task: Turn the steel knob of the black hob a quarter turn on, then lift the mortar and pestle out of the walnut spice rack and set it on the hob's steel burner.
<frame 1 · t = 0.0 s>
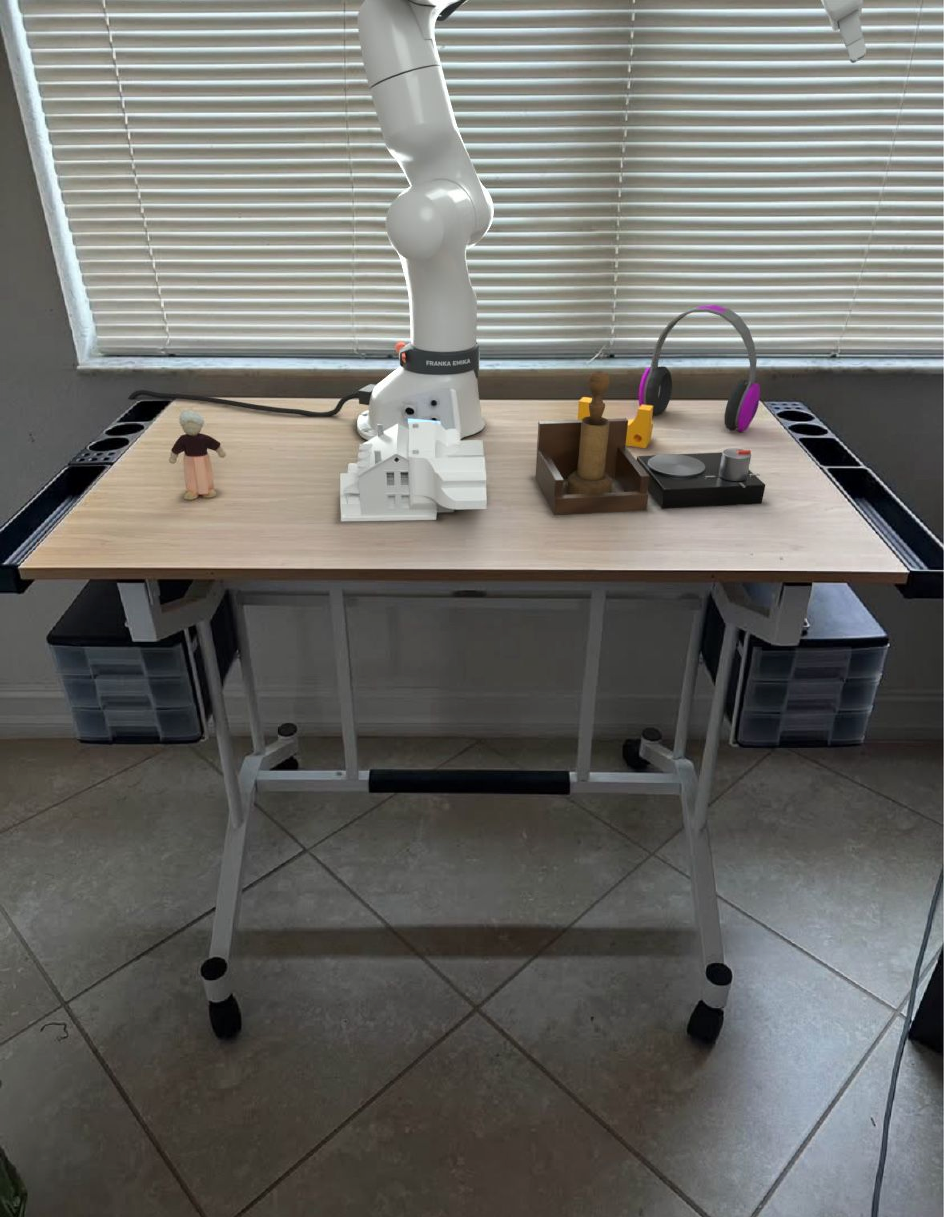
hand: (858, 59, 104), 54 cm above the table, tool tilted 30°, fingers open, 8 cm apart
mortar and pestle: (588, 494, 125), resting in spice rack
headphones: (693, 423, 152), on the table
house model: (414, 508, 120), on the table
burner: (676, 466, 126), resting on hob
spice rack: (588, 493, 125), on the table
hob knob: (735, 463, 122), point 5 cm above the table, hinge at 0.0°
grandmother figurine: (204, 496, 123), on the table
hob: (696, 488, 126), on the table
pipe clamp: (613, 440, 144), on the table
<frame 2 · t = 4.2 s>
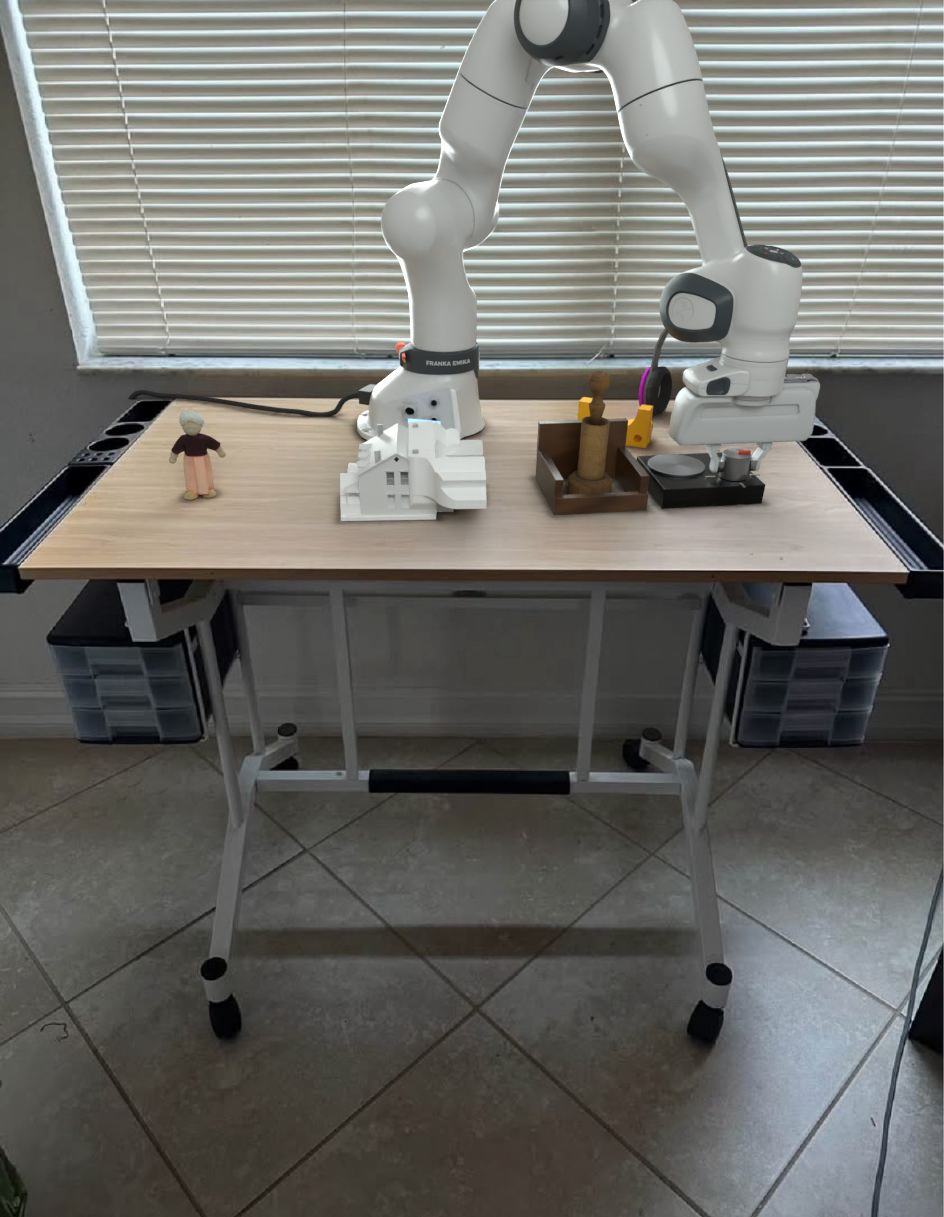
hand: (733, 470, 122), 4 cm above the table, tool pointing down, fingers closed on hob knob, 4 cm apart
hob knob: (735, 463, 122), point 5 cm above the table, hinge at -0.2°, touching gripper
everything else where it was.
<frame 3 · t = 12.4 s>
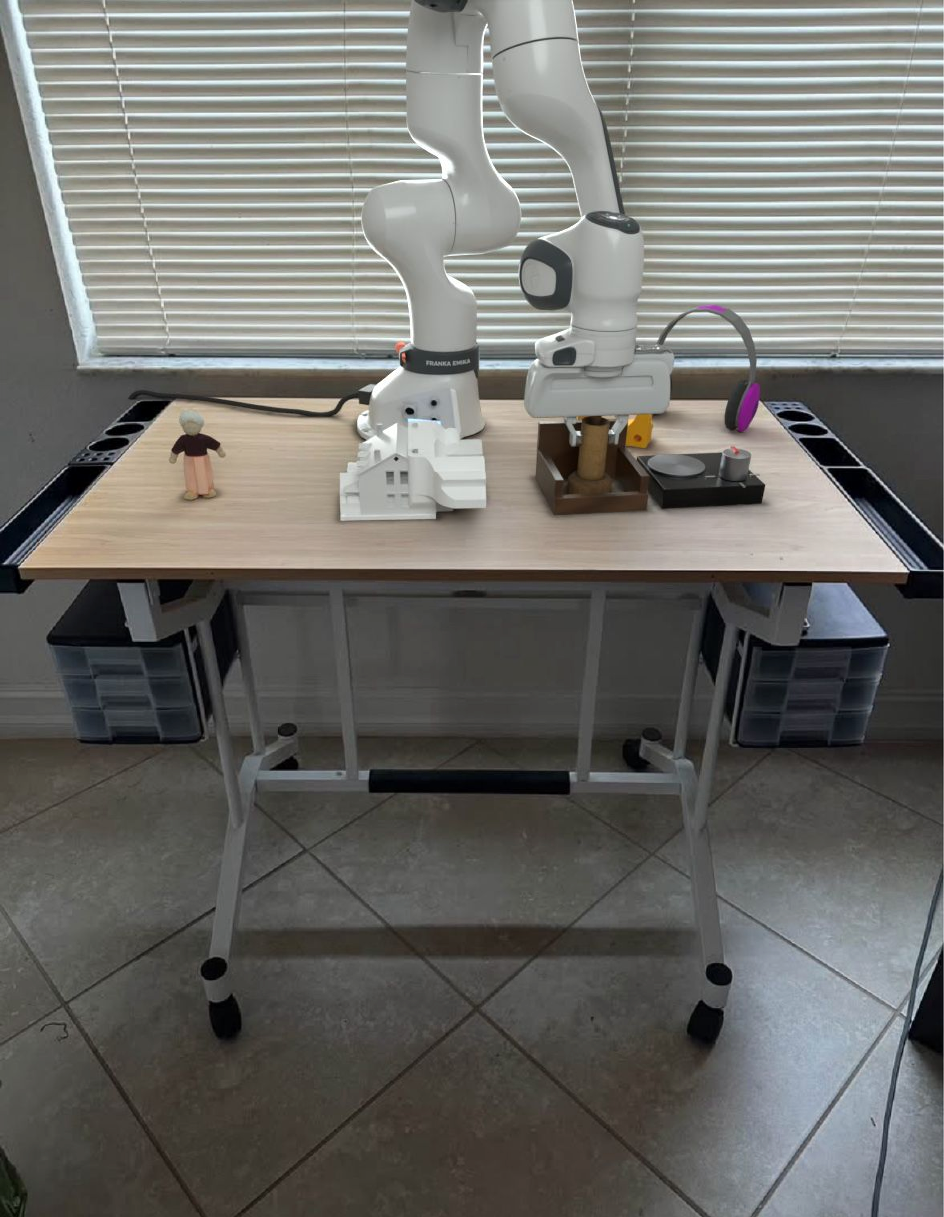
hand: (593, 444, 121), 8 cm above the table, tool pointing down, fingers closed on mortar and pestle, 4 cm apart
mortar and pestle: (588, 494, 125), resting in spice rack, touching gripper
hob knob: (735, 463, 122), point 5 cm above the table, hinge at 86.9°
everything else where it was.
when the fingers open (11 cm above the table, at t = 19.4 s): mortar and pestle stays where it is, resting on burner.
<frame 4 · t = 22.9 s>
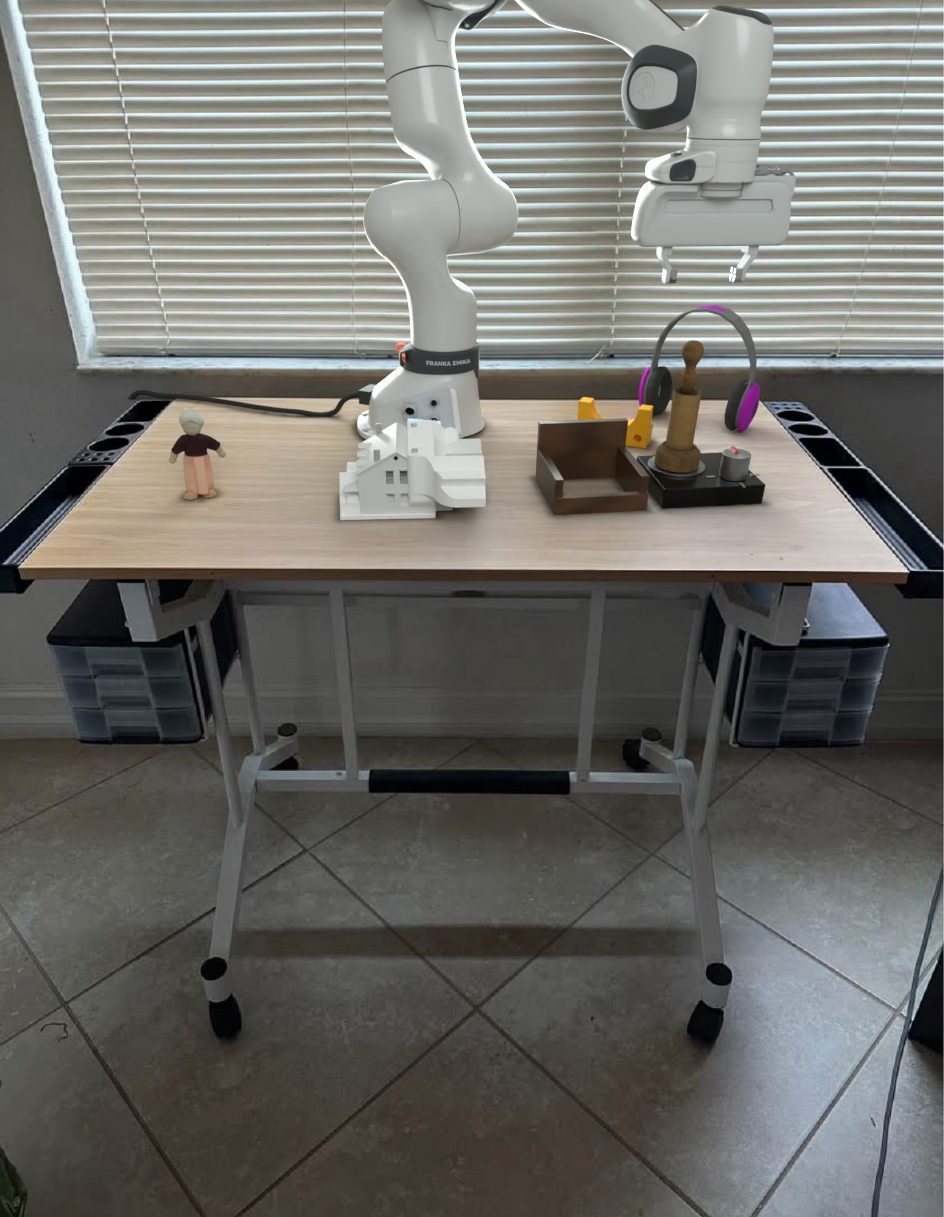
hand: (702, 282, 112), 29 cm above the table, tool pointing down, fingers open, 8 cm apart
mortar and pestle: (676, 465, 126), point 3 cm above the table, touching burner
everything else where it was.
at the end: hob knob at +87° (first picture: +0°); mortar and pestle 0.1 cm off-centre on the burner, point 0.2 cm above the burner's base; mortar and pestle tilted 0° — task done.
